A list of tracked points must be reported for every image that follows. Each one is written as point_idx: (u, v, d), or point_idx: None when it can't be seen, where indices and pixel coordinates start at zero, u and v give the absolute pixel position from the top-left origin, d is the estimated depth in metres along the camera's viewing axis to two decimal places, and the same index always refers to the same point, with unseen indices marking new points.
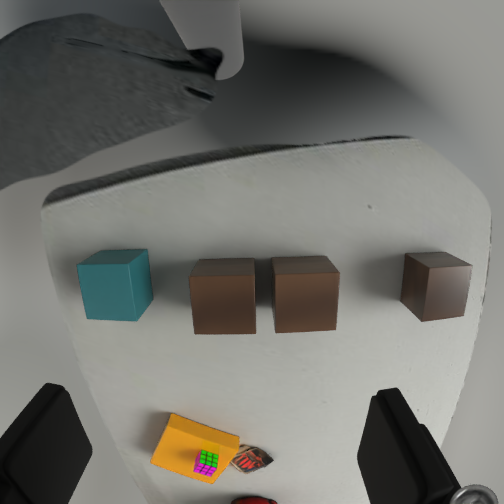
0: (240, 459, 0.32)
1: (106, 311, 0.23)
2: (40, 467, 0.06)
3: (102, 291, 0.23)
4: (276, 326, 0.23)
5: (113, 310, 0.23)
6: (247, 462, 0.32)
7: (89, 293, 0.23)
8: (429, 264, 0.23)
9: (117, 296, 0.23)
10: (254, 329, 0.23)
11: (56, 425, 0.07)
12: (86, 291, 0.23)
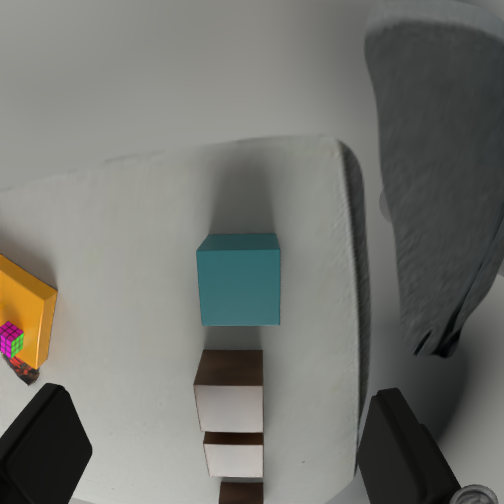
0: None
1: (212, 285, 0.18)
2: (40, 467, 0.06)
3: (241, 285, 0.18)
4: (210, 444, 0.21)
5: (215, 296, 0.18)
6: (16, 360, 0.25)
7: (237, 263, 0.18)
8: None
9: (235, 305, 0.18)
10: (205, 430, 0.21)
11: (56, 425, 0.07)
12: (240, 259, 0.18)
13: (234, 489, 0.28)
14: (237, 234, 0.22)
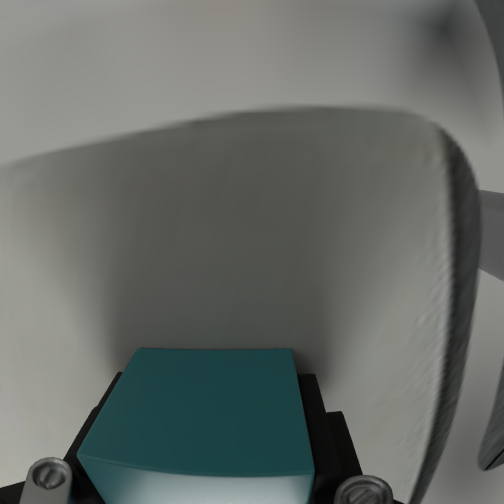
0: None
1: None
2: None
3: None
4: None
5: None
6: None
7: (188, 494, 0.05)
8: None
9: None
10: None
11: None
12: (195, 489, 0.05)
13: None
14: (201, 353, 0.09)
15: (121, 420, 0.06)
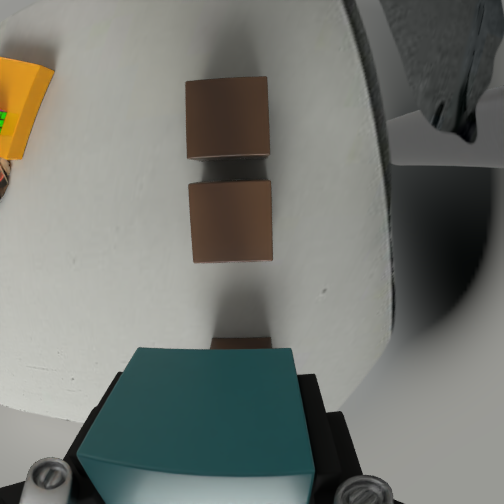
0: None
1: None
2: None
3: None
4: (198, 184, 0.18)
5: None
6: None
7: (188, 494, 0.05)
8: None
9: None
10: (193, 156, 0.17)
11: None
12: (195, 489, 0.05)
13: (230, 344, 0.24)
14: (201, 352, 0.09)
15: (121, 420, 0.06)
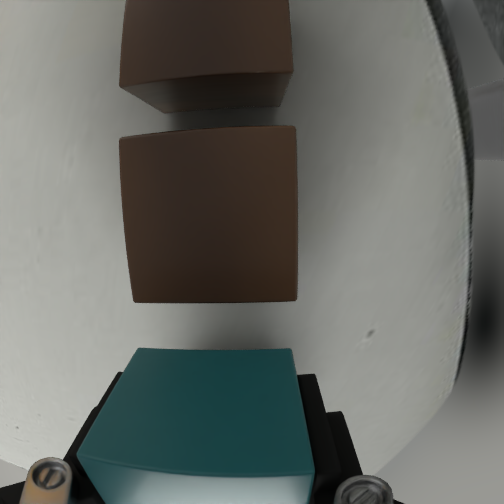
0: None
1: None
2: None
3: None
4: (138, 137, 0.08)
5: None
6: None
7: (188, 494, 0.05)
8: None
9: None
10: (131, 81, 0.07)
11: None
12: (195, 489, 0.05)
13: None
14: (201, 353, 0.09)
15: (121, 420, 0.06)
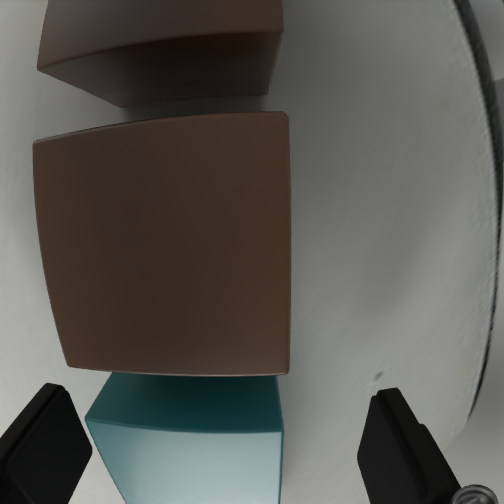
0: None
1: (133, 476, 0.07)
2: (40, 467, 0.06)
3: (194, 482, 0.07)
4: (55, 139, 0.05)
5: (144, 489, 0.07)
6: None
7: (178, 451, 0.06)
8: None
9: (187, 503, 0.07)
10: (51, 60, 0.04)
11: (56, 425, 0.07)
12: (183, 447, 0.06)
13: None
14: None
15: (122, 390, 0.07)
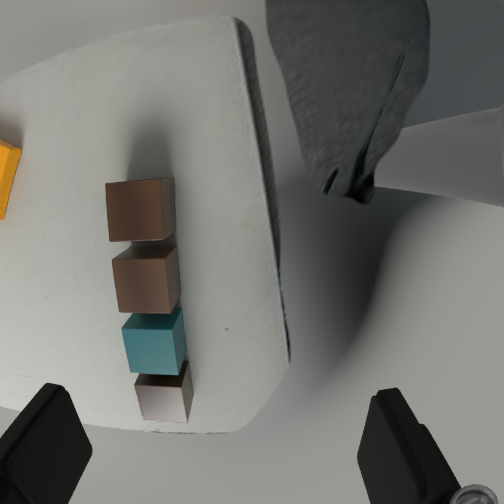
0: None
1: (133, 349, 0.26)
2: (40, 467, 0.06)
3: (150, 350, 0.26)
4: (117, 260, 0.24)
5: (136, 356, 0.26)
6: None
7: (146, 337, 0.26)
8: (183, 386, 0.28)
9: (148, 361, 0.26)
10: (113, 240, 0.24)
11: (56, 425, 0.07)
12: (148, 335, 0.26)
13: None
14: None
15: (132, 322, 0.27)
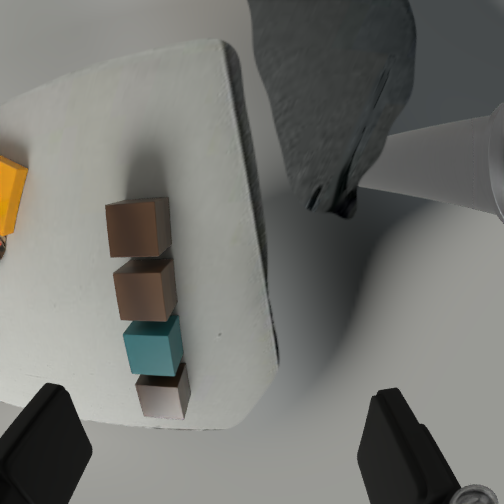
0: None
1: (133, 353, 0.29)
2: (40, 467, 0.06)
3: (149, 353, 0.29)
4: (118, 274, 0.27)
5: (136, 358, 0.29)
6: None
7: (145, 342, 0.28)
8: (179, 386, 0.31)
9: (148, 364, 0.29)
10: (114, 256, 0.26)
11: (56, 425, 0.07)
12: (146, 340, 0.28)
13: None
14: None
15: (133, 328, 0.30)
